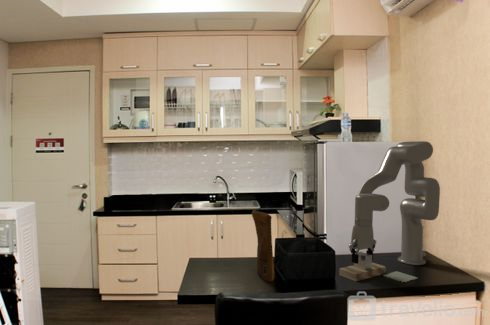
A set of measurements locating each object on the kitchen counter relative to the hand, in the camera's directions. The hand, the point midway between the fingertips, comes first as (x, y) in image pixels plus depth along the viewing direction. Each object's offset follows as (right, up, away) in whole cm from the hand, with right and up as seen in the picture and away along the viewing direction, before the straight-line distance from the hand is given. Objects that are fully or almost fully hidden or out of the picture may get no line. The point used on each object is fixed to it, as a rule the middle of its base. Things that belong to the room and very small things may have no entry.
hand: (362, 261), depth 157 cm
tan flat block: (0, -6, 0) cm, 6 cm away
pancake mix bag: (-44, -6, -3) cm, 44 cm away
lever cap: (0, -3, 0) cm, 3 cm away
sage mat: (+15, -6, -3) cm, 17 cm away
